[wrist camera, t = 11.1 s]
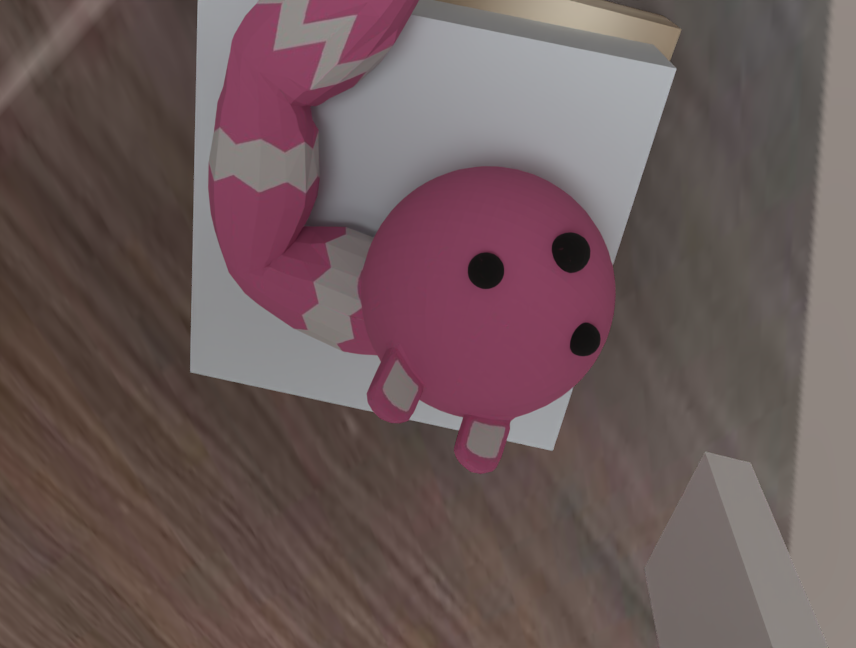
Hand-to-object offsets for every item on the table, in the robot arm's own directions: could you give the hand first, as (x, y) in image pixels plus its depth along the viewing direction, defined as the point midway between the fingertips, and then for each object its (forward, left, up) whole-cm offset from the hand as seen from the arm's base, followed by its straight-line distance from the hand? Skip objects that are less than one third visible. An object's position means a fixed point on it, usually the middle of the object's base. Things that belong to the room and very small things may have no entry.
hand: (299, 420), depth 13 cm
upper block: (0, -1, -14) cm, 14 cm away
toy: (+1, +2, -10) cm, 10 cm away
